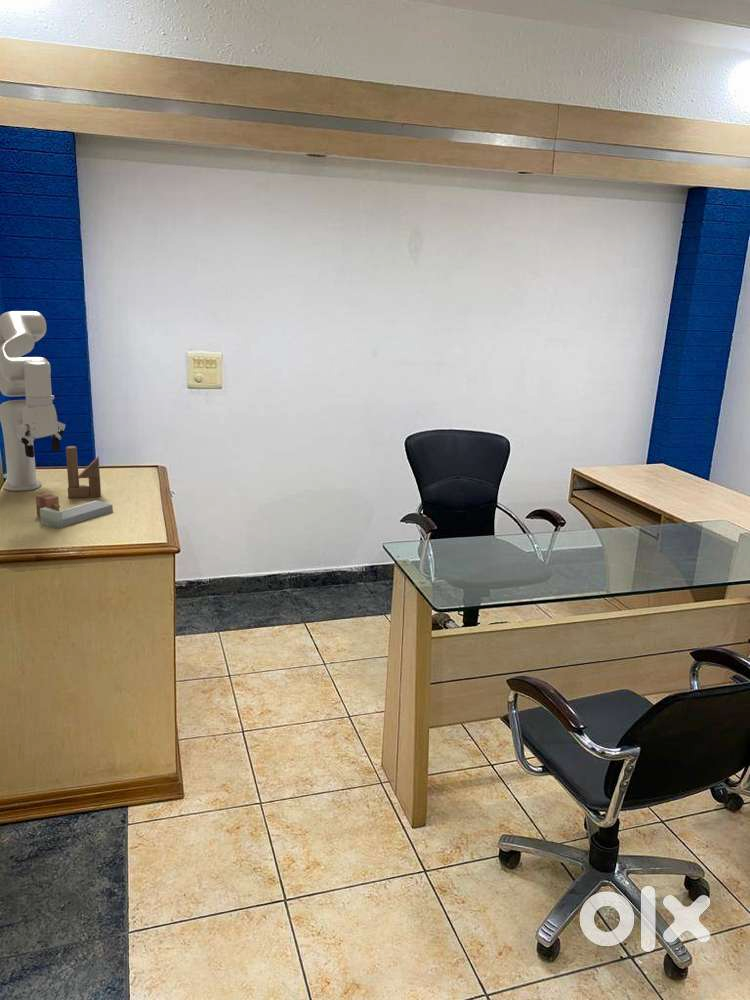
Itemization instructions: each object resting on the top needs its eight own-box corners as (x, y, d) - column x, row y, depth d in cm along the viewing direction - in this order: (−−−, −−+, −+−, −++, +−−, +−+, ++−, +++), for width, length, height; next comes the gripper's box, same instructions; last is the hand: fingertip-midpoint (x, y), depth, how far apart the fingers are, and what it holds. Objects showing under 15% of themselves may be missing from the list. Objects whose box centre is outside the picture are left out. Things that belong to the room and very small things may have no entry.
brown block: (37, 516, 258) (35, 495, 256) (47, 513, 262) (46, 493, 260) (54, 521, 254) (52, 500, 252) (64, 518, 258) (63, 497, 255)
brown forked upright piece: (100, 497, 281) (97, 447, 275) (68, 498, 278) (64, 448, 273) (101, 494, 284) (98, 445, 279) (69, 495, 281) (65, 445, 276)
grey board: (40, 523, 252) (39, 508, 250) (96, 507, 270) (95, 493, 268) (57, 528, 248) (56, 513, 246) (112, 511, 266) (112, 497, 265)
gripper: (54, 395, 256) (58, 447, 262) (6, 403, 242) (11, 457, 247) (70, 399, 253) (73, 451, 258) (22, 406, 238) (27, 461, 244)
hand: (43, 453), depth 253 cm, fingers open, 9 cm apart
